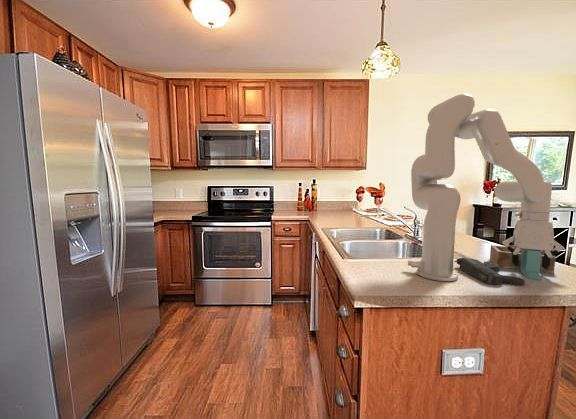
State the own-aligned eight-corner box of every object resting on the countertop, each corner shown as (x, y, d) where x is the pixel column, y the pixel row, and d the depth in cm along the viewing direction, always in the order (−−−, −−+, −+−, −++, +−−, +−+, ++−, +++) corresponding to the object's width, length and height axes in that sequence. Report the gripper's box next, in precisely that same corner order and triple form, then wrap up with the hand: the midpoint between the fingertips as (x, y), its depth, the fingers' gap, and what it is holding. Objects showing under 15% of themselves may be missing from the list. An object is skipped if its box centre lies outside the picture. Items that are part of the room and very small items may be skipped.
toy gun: (493, 258, 102) (453, 253, 103) (536, 278, 83) (485, 272, 84) (491, 270, 103) (450, 265, 104) (532, 292, 84) (482, 286, 85)
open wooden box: (497, 266, 103) (498, 251, 103) (489, 259, 114) (490, 245, 114) (553, 273, 96) (555, 256, 95) (540, 264, 107) (541, 249, 106)
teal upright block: (528, 278, 91) (531, 252, 90) (520, 270, 99) (522, 246, 98) (542, 280, 89) (544, 253, 88) (532, 272, 97) (534, 247, 96)
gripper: (505, 216, 94) (501, 266, 95) (573, 219, 86) (568, 273, 88) (500, 214, 100) (496, 260, 102) (562, 216, 93) (558, 266, 94)
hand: (529, 266), depth 95 cm, fingers open, 7 cm apart
